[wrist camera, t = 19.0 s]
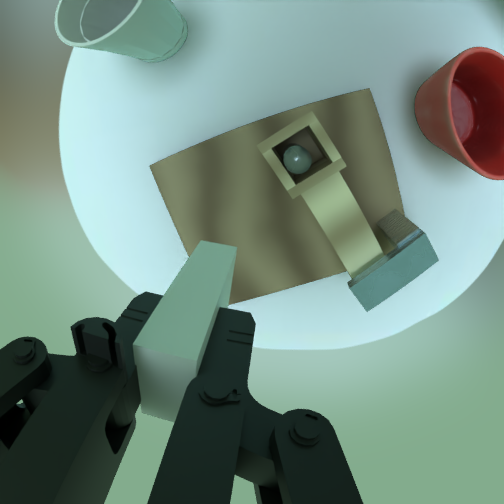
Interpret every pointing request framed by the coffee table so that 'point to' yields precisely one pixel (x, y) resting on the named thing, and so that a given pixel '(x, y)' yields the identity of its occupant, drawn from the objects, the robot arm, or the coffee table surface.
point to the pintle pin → (296, 158)
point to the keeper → (394, 261)
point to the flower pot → (467, 110)
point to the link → (327, 196)
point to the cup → (122, 27)
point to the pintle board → (277, 194)
